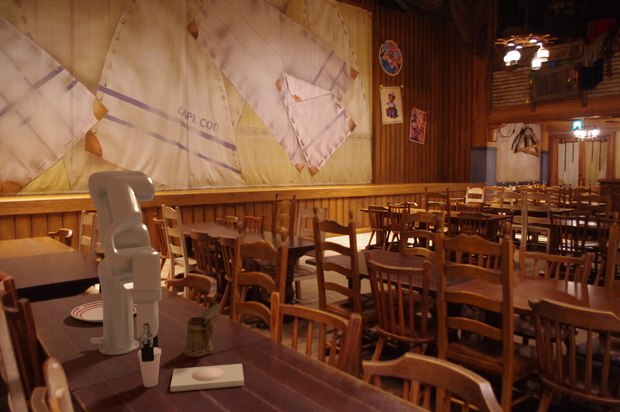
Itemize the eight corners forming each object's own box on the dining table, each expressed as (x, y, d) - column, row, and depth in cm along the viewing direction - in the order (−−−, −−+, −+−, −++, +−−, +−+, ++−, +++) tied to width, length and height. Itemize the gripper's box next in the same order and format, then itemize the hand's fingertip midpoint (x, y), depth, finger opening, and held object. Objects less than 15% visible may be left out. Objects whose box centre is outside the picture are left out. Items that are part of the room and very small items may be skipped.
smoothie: (155, 390, 140) (153, 340, 139) (134, 388, 141) (132, 339, 140) (166, 380, 146) (164, 333, 145) (146, 378, 147) (144, 331, 146)
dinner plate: (156, 312, 214) (156, 304, 214) (99, 331, 191) (98, 322, 190) (114, 303, 228) (114, 296, 228) (57, 319, 205) (56, 311, 205)
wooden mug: (207, 362, 159) (206, 306, 158) (178, 353, 167) (177, 299, 165) (227, 353, 166) (226, 299, 165) (199, 345, 174) (197, 293, 173)
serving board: (170, 391, 139) (170, 386, 139) (174, 373, 151) (174, 368, 150) (244, 385, 142) (243, 379, 142) (242, 368, 154) (241, 363, 154)
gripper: (138, 289, 149) (141, 346, 150) (128, 303, 132) (131, 367, 133) (164, 287, 150) (167, 344, 152) (158, 301, 133) (160, 365, 135)
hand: (150, 355), depth 142 cm, fingers open, 9 cm apart
